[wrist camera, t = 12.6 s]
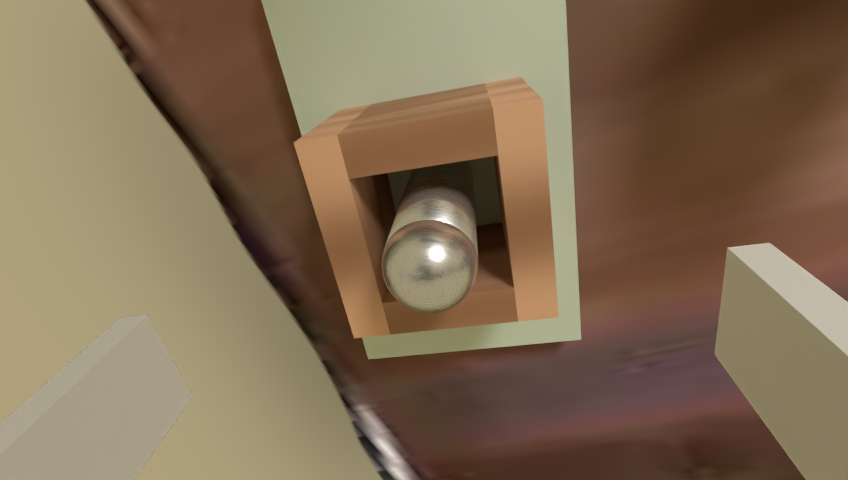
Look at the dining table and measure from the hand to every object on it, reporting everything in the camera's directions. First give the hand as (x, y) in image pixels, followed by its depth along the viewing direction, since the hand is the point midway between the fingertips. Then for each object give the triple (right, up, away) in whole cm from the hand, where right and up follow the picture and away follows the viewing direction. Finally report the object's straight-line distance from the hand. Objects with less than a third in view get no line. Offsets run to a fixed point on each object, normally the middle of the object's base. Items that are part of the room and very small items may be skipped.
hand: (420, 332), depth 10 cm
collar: (+1, +5, +11) cm, 12 cm away
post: (+1, +5, +11) cm, 12 cm away
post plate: (+1, +6, +12) cm, 13 cm away
